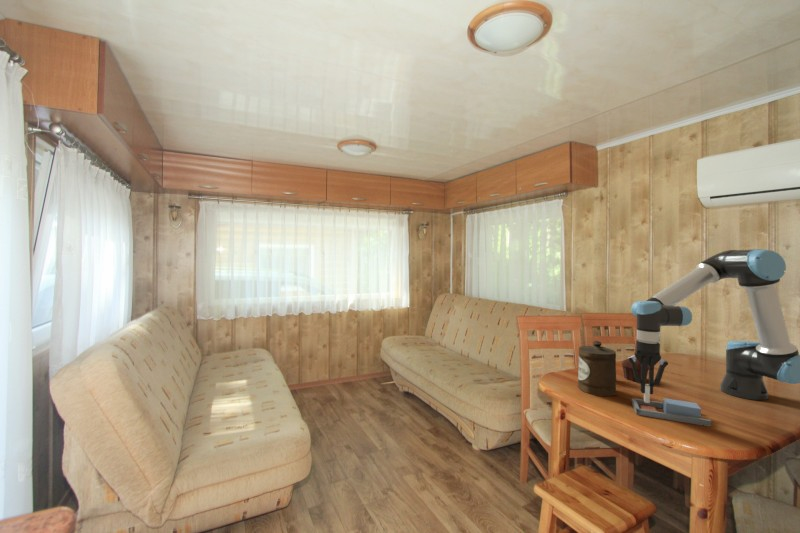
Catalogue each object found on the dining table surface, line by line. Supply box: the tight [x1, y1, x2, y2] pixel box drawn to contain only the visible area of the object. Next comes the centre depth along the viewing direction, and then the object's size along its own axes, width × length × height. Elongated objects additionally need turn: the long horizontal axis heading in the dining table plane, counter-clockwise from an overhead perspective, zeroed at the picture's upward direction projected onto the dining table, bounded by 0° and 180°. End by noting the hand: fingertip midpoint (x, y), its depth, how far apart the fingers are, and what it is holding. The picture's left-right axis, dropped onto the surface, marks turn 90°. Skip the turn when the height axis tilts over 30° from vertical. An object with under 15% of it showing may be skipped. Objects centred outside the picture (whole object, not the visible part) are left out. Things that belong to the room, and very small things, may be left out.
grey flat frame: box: [631, 397, 712, 427], centre depth 136 cm, size 22×12×2 cm, turn 65°
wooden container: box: [577, 340, 617, 397], centre depth 160 cm, size 15×15×22 cm
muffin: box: [621, 358, 649, 383], centre depth 175 cm, size 12×11×10 cm
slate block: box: [662, 397, 702, 418], centre depth 134 cm, size 10×6×5 cm, turn 63°
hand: (646, 401), depth 139 cm, fingers closed
